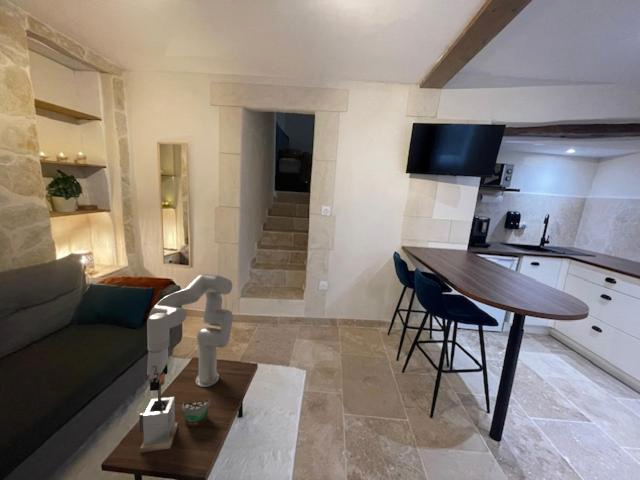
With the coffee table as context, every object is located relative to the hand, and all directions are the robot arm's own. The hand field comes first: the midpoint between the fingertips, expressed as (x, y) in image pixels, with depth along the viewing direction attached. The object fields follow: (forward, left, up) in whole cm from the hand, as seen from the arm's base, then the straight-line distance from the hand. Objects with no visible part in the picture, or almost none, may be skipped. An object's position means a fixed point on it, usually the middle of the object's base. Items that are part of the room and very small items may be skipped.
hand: (159, 381), depth 109 cm
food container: (-6, +13, -28) cm, 31 cm away
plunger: (0, 0, -17) cm, 17 cm away
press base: (0, 0, -27) cm, 27 cm away
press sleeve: (0, -1, -25) cm, 25 cm away
